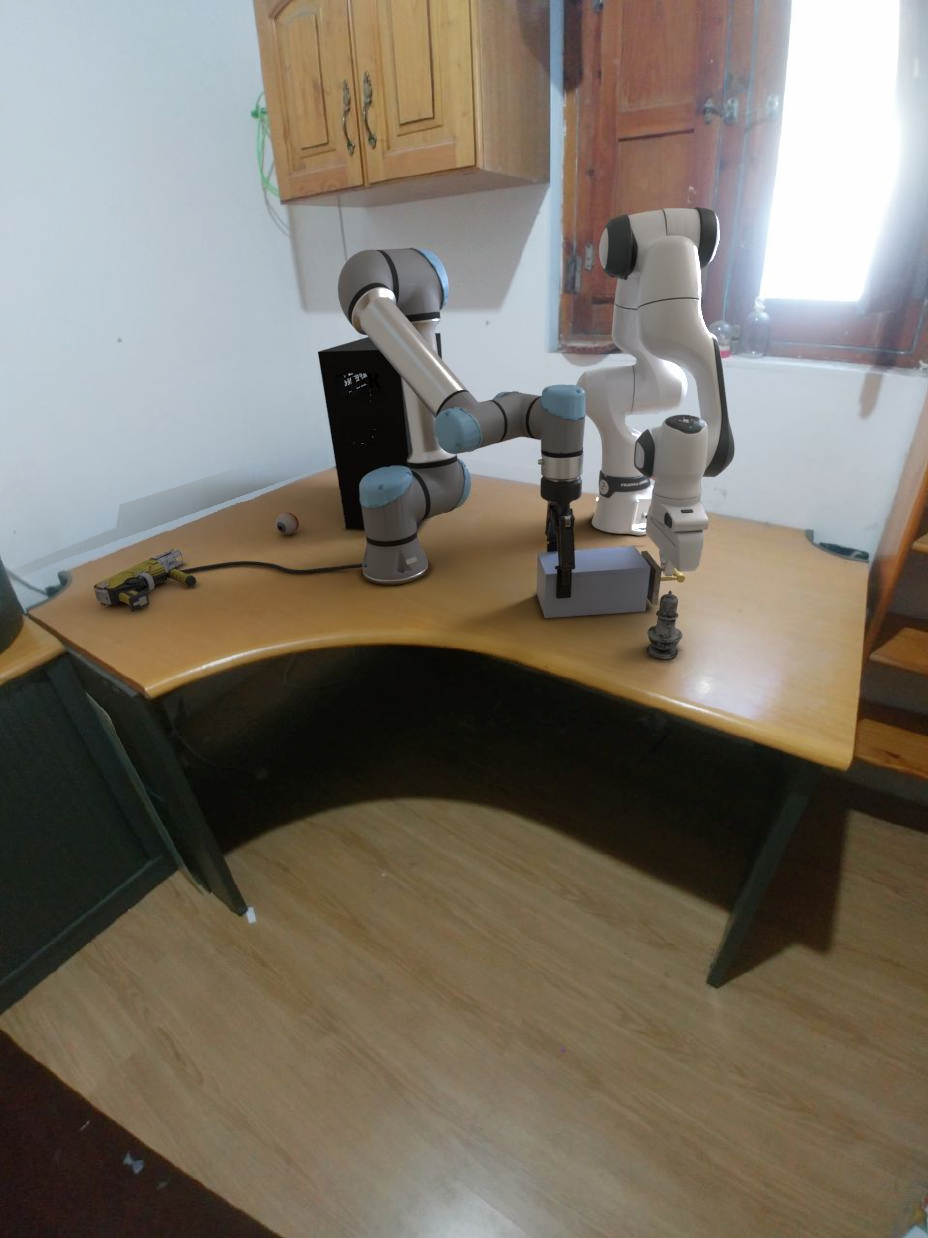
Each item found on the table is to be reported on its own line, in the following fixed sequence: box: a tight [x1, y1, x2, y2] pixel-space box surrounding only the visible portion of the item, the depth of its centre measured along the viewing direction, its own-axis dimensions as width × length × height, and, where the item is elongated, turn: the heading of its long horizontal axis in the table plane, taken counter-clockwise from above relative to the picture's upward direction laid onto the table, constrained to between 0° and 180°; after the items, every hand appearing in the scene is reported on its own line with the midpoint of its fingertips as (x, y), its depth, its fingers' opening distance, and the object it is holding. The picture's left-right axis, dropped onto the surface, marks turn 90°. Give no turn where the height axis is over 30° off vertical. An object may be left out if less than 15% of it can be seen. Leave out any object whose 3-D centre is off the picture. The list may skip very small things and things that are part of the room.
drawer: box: [640, 550, 686, 606], centre depth 121 cm, size 24×9×8 cm, turn 93°
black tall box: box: [317, 332, 443, 530], centre depth 169 cm, size 38×20×45 cm, turn 167°
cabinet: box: [536, 545, 651, 619], centre depth 121 cm, size 20×10×10 cm, turn 93°
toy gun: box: [93, 548, 197, 612], centre depth 139 cm, size 5×24×15 cm
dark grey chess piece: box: [646, 589, 683, 660], centre depth 104 cm, size 6×6×12 cm
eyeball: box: [275, 511, 300, 536], centre depth 163 cm, size 6×6×6 cm
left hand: (558, 584), depth 121 cm, fingers closed on cabinet, 10 cm apart
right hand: (666, 573), depth 121 cm, fingers closed
